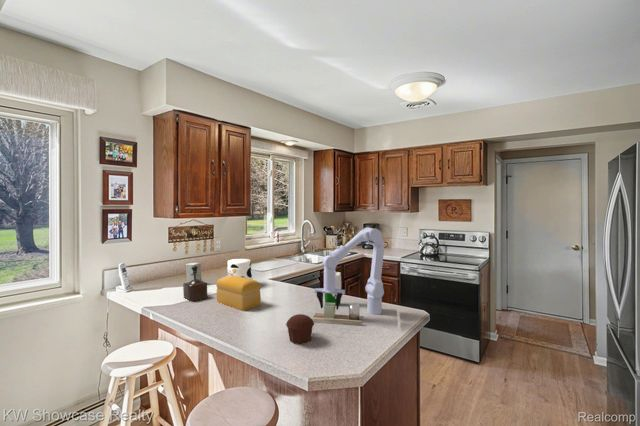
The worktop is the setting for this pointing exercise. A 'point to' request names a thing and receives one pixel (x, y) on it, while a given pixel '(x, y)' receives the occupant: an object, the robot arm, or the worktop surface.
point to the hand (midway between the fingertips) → (329, 308)
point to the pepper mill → (195, 288)
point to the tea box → (329, 310)
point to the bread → (238, 292)
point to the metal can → (354, 311)
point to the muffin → (300, 328)
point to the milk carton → (332, 297)
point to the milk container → (240, 268)
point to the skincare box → (190, 271)
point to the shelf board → (336, 319)
